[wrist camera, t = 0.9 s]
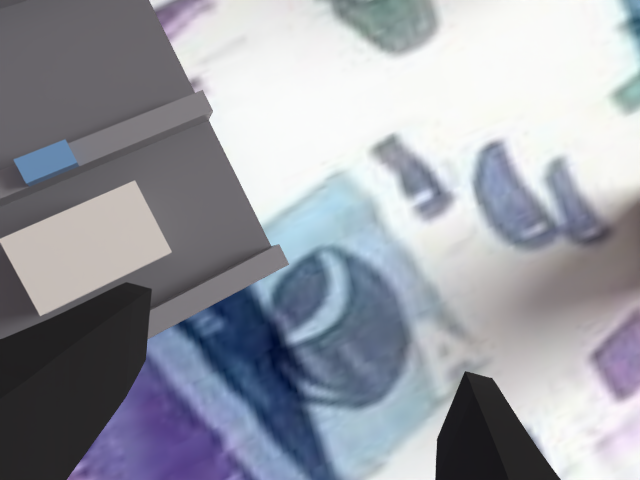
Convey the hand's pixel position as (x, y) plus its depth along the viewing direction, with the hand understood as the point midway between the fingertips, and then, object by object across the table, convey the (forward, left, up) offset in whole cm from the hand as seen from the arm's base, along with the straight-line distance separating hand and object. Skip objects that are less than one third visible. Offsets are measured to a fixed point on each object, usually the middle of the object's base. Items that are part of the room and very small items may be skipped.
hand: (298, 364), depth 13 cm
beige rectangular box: (-3, +5, -14) cm, 15 cm away
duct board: (-3, +9, -15) cm, 17 cm away
